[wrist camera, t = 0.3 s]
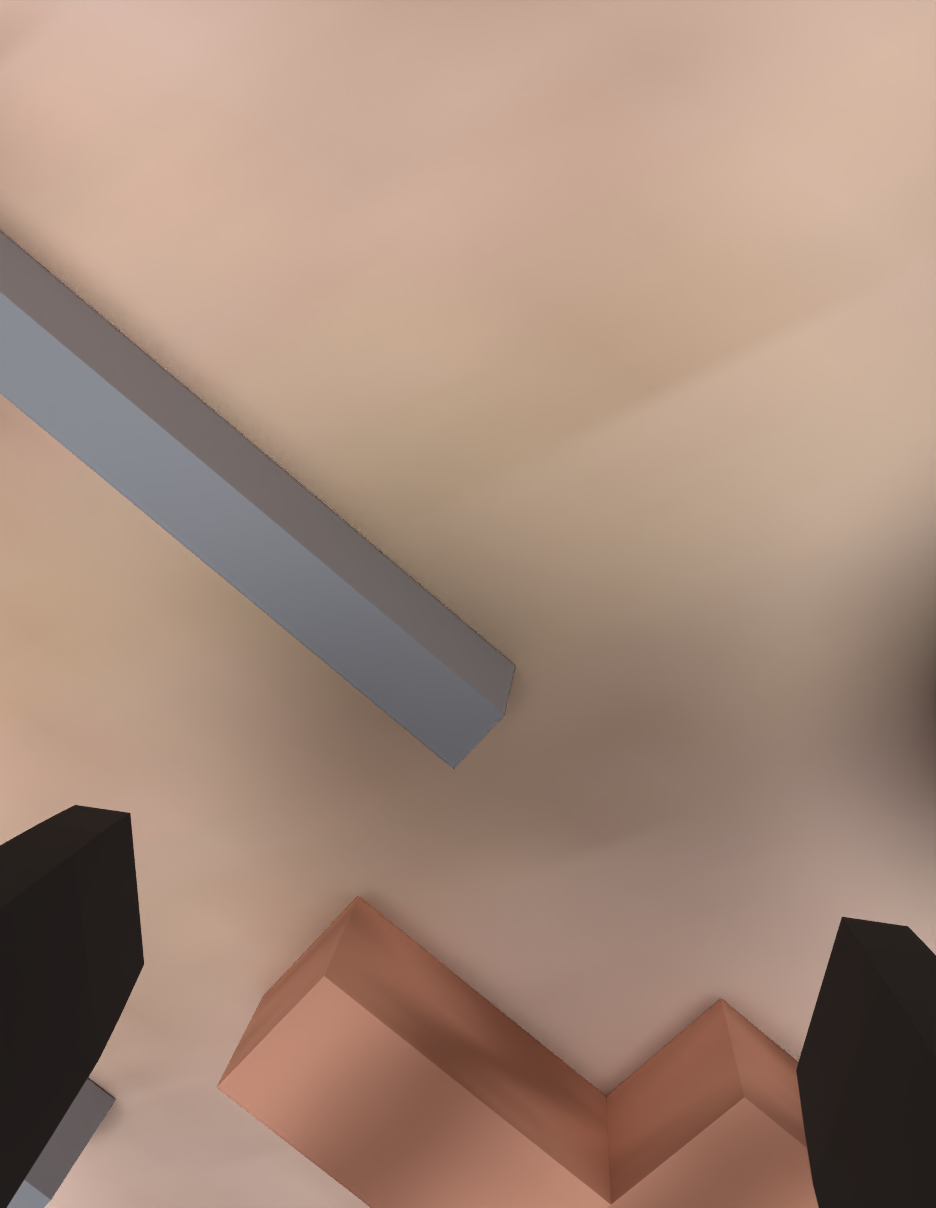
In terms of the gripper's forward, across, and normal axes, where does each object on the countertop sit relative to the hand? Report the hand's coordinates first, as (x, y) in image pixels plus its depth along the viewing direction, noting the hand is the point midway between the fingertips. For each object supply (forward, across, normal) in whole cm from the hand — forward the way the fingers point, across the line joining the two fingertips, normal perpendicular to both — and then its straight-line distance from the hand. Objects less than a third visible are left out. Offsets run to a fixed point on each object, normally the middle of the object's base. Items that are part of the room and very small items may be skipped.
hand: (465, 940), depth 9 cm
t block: (+9, 0, +13) cm, 16 cm away
